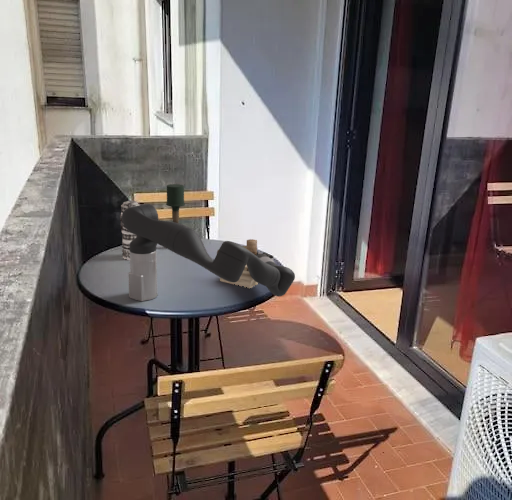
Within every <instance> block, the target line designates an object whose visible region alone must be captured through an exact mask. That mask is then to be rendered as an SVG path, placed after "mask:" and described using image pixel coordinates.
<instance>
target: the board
mask: <svg viewBox="0 0 512 500" xmlns="http://www.w3.org/2000/svg"><path fill="white" fill-rule="evenodd" d="M246 266H247V264H246ZM246 266H245V269H244V271H243V273H242V275H241V277H240V279H239V280H238V281H237V282H229V281H226V280H224V279H222V278H220V277H219V282H222V283H227V284H231V285H234V284H235V286H238V285H239V287H242V286H244V287H243V288H246V287H247V288H246V289H250V288H251V289H252V288H254V287H256V286H257V285H259V284H258V283H257V282H256V281H254V280H253V278H252V277H251V275H250V273H249V271H246V270H247V268H246ZM255 285H256V286H255ZM253 286H254V287H253Z"/></svg>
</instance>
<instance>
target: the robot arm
mask: <svg viewBox="0 0 512 500" xmlns="http://www.w3.org/2000/svg"><path fill="white" fill-rule="evenodd" d="M122 225H124V227H125V228H126V229H127V230H128V231H129V232H131V233H133V234H135V235H138V236H137V237H136V238H135V239H134V240H132V241H131V242H130V244H129V251H130V260H129V269H130V270H129V272H128V273H127V274H128V275H127V278H128V293H129V297H128V298H130V299H132V300H136V301H139V302H145V301H150V300H153V299H155V298H157V297H158V272H157V271H158V269H157V267H158V266H157V265H158V263H157V245H159V246H161V247H163V248H165V249H167V250H169V251H170V252H173V253H174V254H176V255H178V256H180V257H183V258H185V259H187V260H189V261H191V262H193V263H195V264H197V265H199V266H201V267H202V268H204V269H205V270H206V271H207V270H208V271H209V272H210V273H212V274H213V275H215V276H217V277H219V279H220V278H222V279H224V280H226V281H229V282H237V281H238V280H239V279H240V277H241V275H242V273H243V271H244V269H245V266H246V264H247V267H248V270H249V273H250V275H251V277H252V278H253V280H254V281H256V282H257V283H259V284H258V285H262V286H265V287H266V288H267V289H268V291H269V292H270V293H271V294H272V295H273V296H275V297H283V296H285V295H286V294H287V292H288V290H289V289H290V287H291V285H292V284H293V283H294V281H295V278H296V276H295V275H296V274H295V272H294V271H293V269H291V268H289V267H286V266H283V265H278V264H277V263H276V262H275V260H274V255H272V254H269V253H267V252H261V251H258V250H257V255H254V254H253V253H252V252H250V251H249V250H248V249H246V248H244V247H243V246H244V245H240V244H238V243H236V242H233V241H230V240H225V241H223V242H222V243H221V245H220V246H219V249H218V250H219V251H218V250H217V251H218V253H217V252H216V255H215V257H214V259H213V258H212V257H211V256H210V254H209V253H208V251H207V249H206V247H205V245H204V242H203V240H202V238H201V237H200V235H199V233H198V232H197V231H196V230H195V229H193V228H191V227H188V226H187V225H184V224H182V223H180V222H179V223H176V222H173V221H168V220H160V219H159V214H158V211H157V209H156V207H155V206H154V205H153V204H149V203H147V204H146V203H145V204H139V205H138V206H133V207H130V208H127V209H126V210H125V211H124V212H123V214H122Z"/></svg>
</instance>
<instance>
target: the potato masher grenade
mask: <svg viewBox="0 0 512 500" xmlns="http://www.w3.org/2000/svg"><path fill="white" fill-rule="evenodd" d="M165 205H166V206H168V207H171V217H172V222H176V223H180V221H179V219H180V207H184V206H185V205H186V203H185V186H184V184H177V183H172V184H167V185H166V203H165Z"/></svg>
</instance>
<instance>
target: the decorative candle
mask: <svg viewBox="0 0 512 500" xmlns="http://www.w3.org/2000/svg"><path fill="white" fill-rule="evenodd" d="M138 205H140V204H139V203H138V202H137V201H135V200H127V201H124V202H122V204H121V205H120V208H121V213H120V214H119V221H120V222H119V223H120V229H121V233H122V237H121V238H122V242H121V245H122V246H121V248H122V250H121V252H122V259H123V258H124V259H123V260H125V259H127V260H126V261H130V251H129V244H130V242H131V241H132V240H134V239H135V238H136V237H137V236H138V235H135V234H133V233H131V232H129V231H128V230H127V229H126V228H125V227H124V225H123V223H122V214H123V212H124V211H125V210H126V209H127V208H130V207H133V206H138Z"/></svg>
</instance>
